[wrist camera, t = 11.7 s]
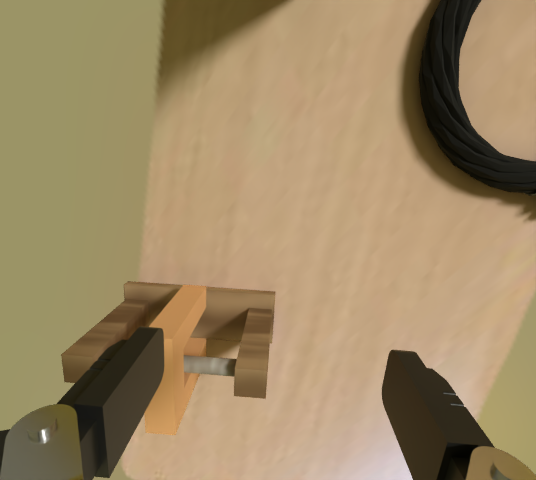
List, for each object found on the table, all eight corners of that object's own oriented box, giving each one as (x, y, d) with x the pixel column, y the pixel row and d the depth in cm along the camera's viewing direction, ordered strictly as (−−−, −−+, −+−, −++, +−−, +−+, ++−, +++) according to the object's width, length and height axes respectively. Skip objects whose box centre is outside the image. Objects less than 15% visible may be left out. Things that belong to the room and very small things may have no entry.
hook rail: (128, 281, 41) (55, 335, 28) (275, 291, 41) (271, 351, 28) (130, 327, 43) (63, 399, 30) (272, 338, 42) (267, 416, 29)
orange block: (183, 284, 38) (140, 336, 26) (206, 286, 37) (172, 339, 26) (185, 356, 40) (145, 432, 28) (206, 357, 40) (175, 435, 28)
